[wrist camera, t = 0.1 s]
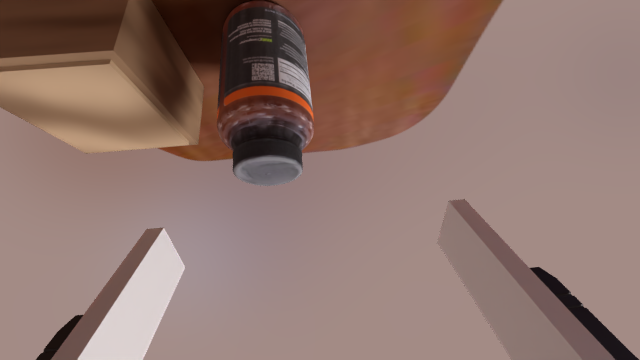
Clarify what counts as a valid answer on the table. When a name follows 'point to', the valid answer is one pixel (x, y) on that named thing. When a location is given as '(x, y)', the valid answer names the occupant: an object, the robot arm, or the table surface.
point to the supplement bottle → (264, 93)
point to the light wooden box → (98, 74)
